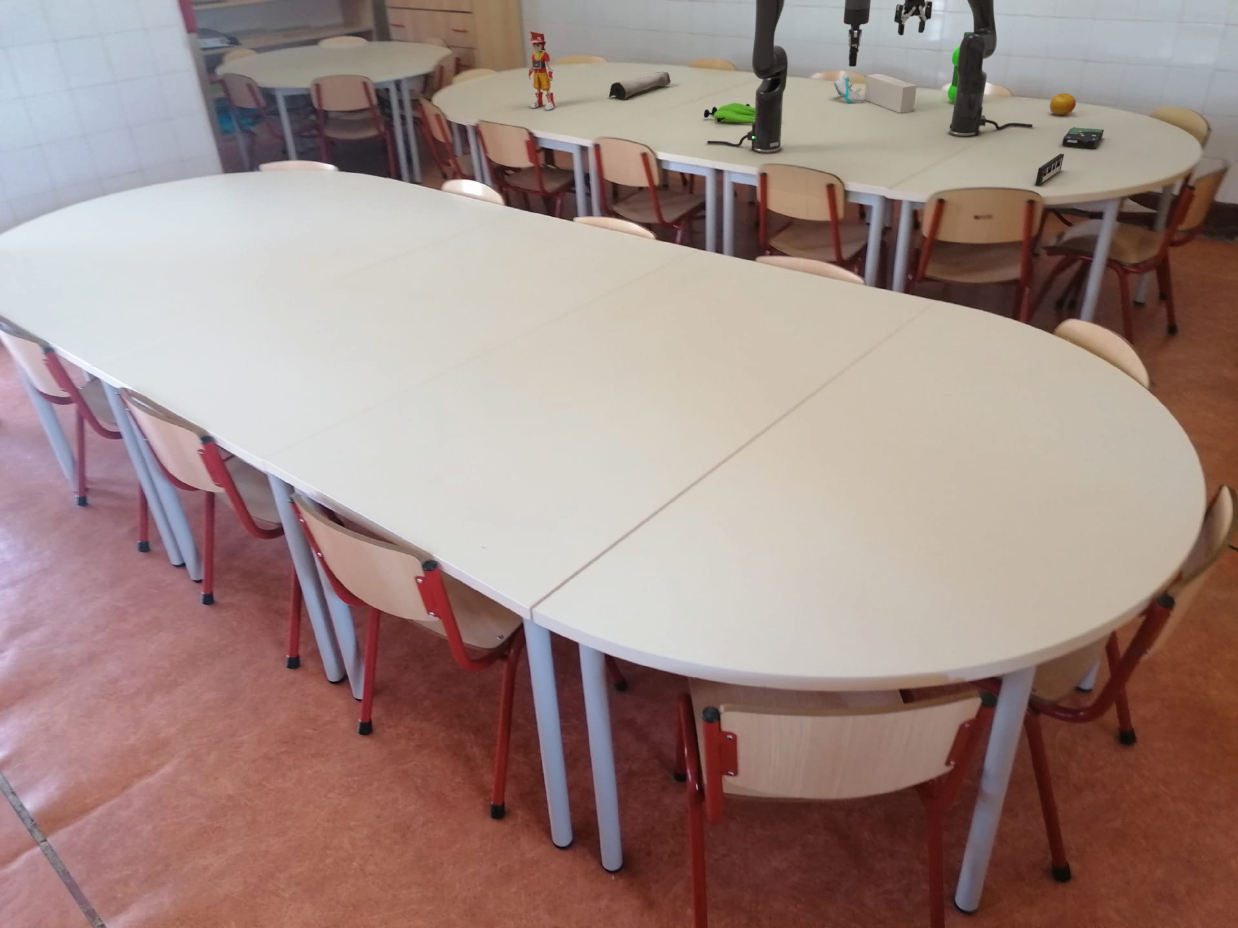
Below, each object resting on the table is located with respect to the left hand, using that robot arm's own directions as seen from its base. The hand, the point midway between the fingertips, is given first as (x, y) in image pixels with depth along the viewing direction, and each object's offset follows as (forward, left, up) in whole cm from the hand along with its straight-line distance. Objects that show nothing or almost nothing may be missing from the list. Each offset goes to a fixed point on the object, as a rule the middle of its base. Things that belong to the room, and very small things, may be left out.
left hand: (852, 63), depth 281 cm
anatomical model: (-34, +80, -31) cm, 92 cm away
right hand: (-8, +72, -4) cm, 73 cm away
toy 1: (-145, +18, -31) cm, 149 cm away
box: (-15, +78, -31) cm, 85 cm away
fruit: (+47, +88, -31) cm, 104 cm away
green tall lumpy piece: (+8, +92, -31) cm, 97 cm away
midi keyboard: (+62, +11, -31) cm, 70 cm away
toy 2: (-56, +35, -31) cm, 73 cm away
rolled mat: (-122, +58, -31) cm, 138 cm away
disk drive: (+62, +54, -31) cm, 88 cm away
